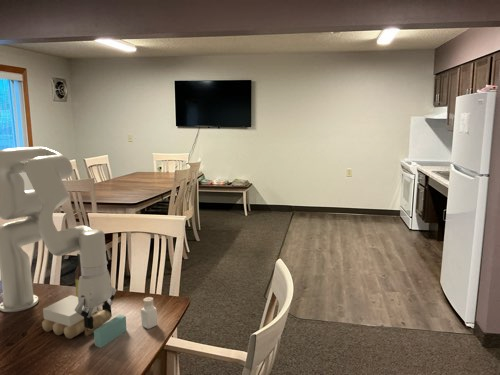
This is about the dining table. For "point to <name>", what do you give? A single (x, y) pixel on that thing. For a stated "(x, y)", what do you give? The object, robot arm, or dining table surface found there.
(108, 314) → the roller
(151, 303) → the pepper shaker
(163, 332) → the dining table surface
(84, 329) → the roller track
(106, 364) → the dining table surface
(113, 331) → the block
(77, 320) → the slab
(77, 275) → the sauce bottle
